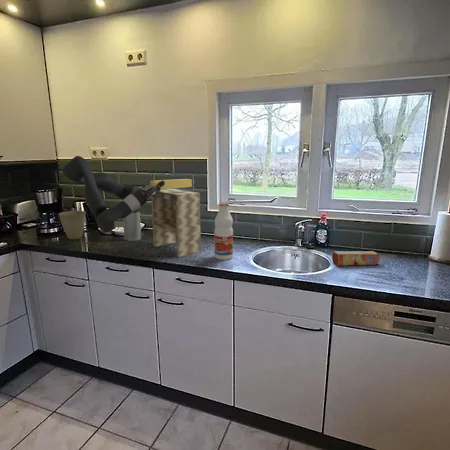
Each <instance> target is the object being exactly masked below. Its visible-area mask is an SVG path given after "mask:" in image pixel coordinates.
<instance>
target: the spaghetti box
mask: <svg viewBox="0 0 450 450" xmlns="http://www.w3.org/2000/svg"><path fill="white" fill-rule="evenodd" d="M162 180H163V181H164V182H165V185H163V186H162V187H160V189H161V190H162V189H181V188H192V187H193V186H192V185H193V180H192V179H191V178H179V179H175V178H174V179H160V180H159V179H157V180H150V184H151V186H155V185H156V184H158V183H159V182H161V181H162Z"/></svg>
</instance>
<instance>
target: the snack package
mask: <svg viewBox="0 0 450 450" xmlns="http://www.w3.org/2000/svg"><path fill="white" fill-rule="evenodd" d="M379 259H380V255H379V253H378V252H375V251H372V250H369V251H367V250H366V251H361V250H359V251H358V250H356V251H341V250H340V251H339V250H338V251H336V250H334V251H333V252H332V257H331V260H332V263H333V265H335V266H336V265H337V266H336V267H342V266H343V267H344V266H347V267H349V266H348V265H352V266H377V265H376V264H379Z"/></svg>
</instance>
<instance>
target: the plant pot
mask: <svg viewBox="0 0 450 450" xmlns="http://www.w3.org/2000/svg"><path fill="white" fill-rule="evenodd" d="M58 217H59V219H60V223H61V225H62V227H63V230H64V232H65V233H64V234H65V235H66V236H67V239H69V240H78V239H81V238H82V237H83V234H84V229H85V223H86V211H85V210H70V211H62V212H59V213H58Z"/></svg>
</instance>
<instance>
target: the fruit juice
mask: <svg viewBox="0 0 450 450" xmlns="http://www.w3.org/2000/svg"><path fill="white" fill-rule="evenodd" d="M218 207H219V209H218V212H217V215H216V216H215V218H214V224H215V228H214V239H213V240H214V254H213V255H214V258H215V259H217V260H220V261H225V260H226V261H228V260H230V259H232V258H233V256H234V253H233V252H234V229H233V222H234V219H233V217H232V215H231V213H230V210H229V207H230V203H228V202H219V203H218Z"/></svg>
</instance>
